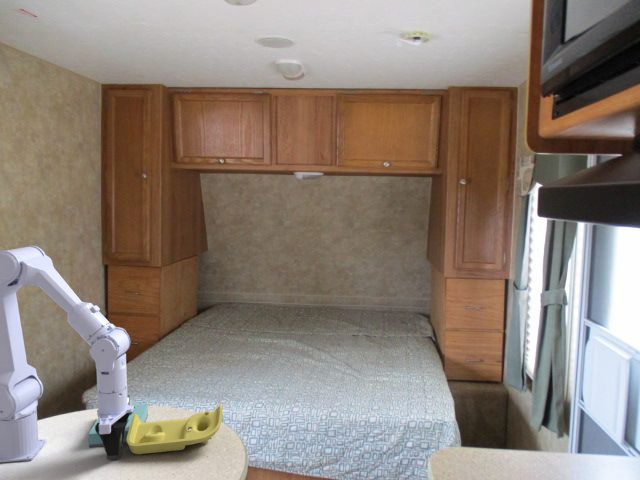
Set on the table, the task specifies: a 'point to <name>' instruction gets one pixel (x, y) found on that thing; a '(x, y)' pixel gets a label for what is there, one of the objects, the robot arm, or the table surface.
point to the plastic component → (172, 432)
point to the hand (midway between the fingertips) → (114, 450)
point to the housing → (142, 414)
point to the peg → (120, 454)
